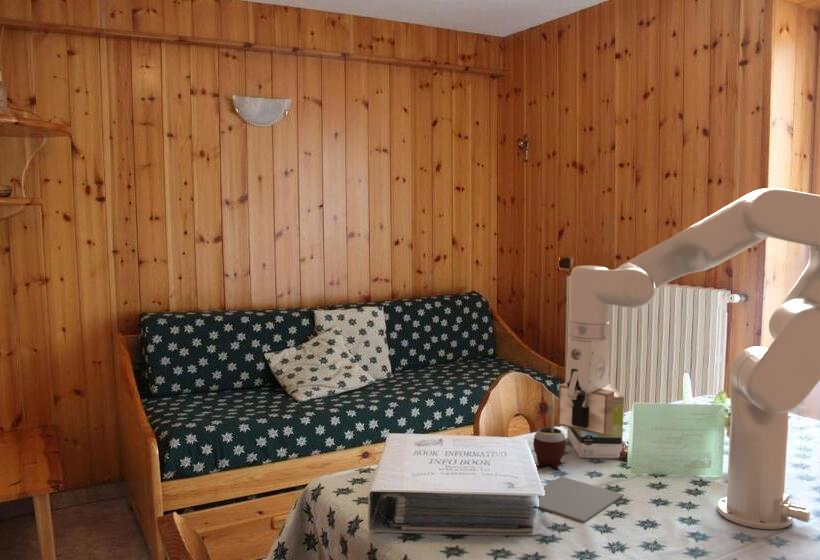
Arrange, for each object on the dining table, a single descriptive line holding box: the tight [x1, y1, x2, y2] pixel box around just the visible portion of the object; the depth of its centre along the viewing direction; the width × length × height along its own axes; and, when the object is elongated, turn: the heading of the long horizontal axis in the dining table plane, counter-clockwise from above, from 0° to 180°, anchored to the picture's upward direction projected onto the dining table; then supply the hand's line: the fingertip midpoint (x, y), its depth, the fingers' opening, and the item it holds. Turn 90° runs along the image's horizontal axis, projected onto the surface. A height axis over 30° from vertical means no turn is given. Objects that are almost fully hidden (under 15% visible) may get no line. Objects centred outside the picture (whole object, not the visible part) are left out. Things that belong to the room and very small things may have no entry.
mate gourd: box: [532, 393, 567, 472], centre depth 156 cm, size 8×8×15 cm
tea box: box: [566, 383, 625, 459], centre depth 168 cm, size 15×10×15 cm
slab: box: [557, 382, 614, 436], centre depth 136 cm, size 10×3×8 cm, turn 50°
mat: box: [539, 476, 625, 524], centre depth 139 cm, size 14×16×1 cm
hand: (584, 423), depth 137 cm, fingers closed on slab, 3 cm apart
